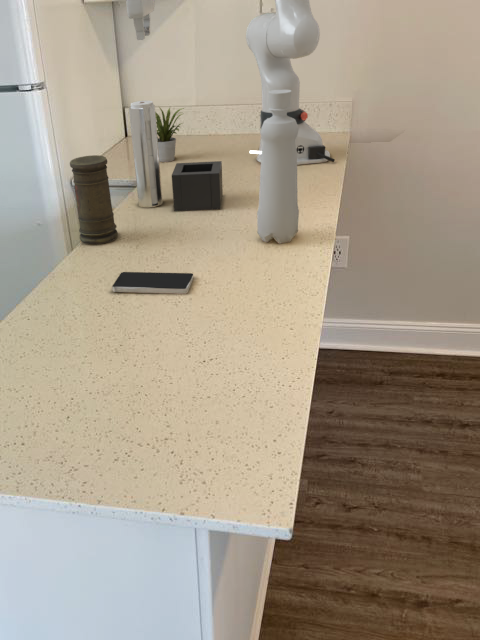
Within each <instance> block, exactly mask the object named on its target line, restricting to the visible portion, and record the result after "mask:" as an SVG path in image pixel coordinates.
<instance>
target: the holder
mask: <svg viewBox="0 0 480 640" xmlns="http://www.w3.org/2000/svg"><path fill="white" fill-rule="evenodd" d="M171 187H172V201H173V203H172V204H173V211H174V212H189V211H212V210H214V211H215V210H216V211H217V210H222V209H221V208H222V202H223V196H224V195H223V193H224V191H223V162H222V160H218V161H195V162H192V161H191V162H176V164H175V166H174V168H173V172H172V173H171Z"/></svg>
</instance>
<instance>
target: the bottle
mask: <svg viewBox="0 0 480 640" xmlns="http://www.w3.org/2000/svg"><path fill="white" fill-rule="evenodd" d="M291 92H292V91H291V90H273V91H269V103H270V108H269V110H271V112H272V114H273V116H272V117H270V118H268V119H266V120H265V121H264V123H263V125H262V127H261V129H259V133H260V139H261V138H262V140H263V142H264V143H263V148H262V153H261V162H260V170H259V171H260V172H259V192H258V193H259V194H258V197H259V198H258V207H257V208H258V209H257V211H256V219H257V220H256V221H257V223H256V225H257V226H256V227H257V228H256V229H257V231H256V232H257V233H256V234H257V235H258V236H259V238H260V239H261V241H262V242H264V243H269V242H272V240H273V239H274V240H275V241H276V242H277V243H278V244H286V243H290V242H291V241H292V239H294V238H295V236H296V234H297V233H298V231H299V215H300V209H299V204H298V201H299V200H298V165H297V150H296V144H295V139H296V137H297V135H298V131H299V127H298V125H297V122H296V120H295V119H294V118H291V117H289V116H287V112H288V110H289V109H291V107H290V100H291Z"/></svg>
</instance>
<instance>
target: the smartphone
mask: <svg viewBox="0 0 480 640" xmlns="http://www.w3.org/2000/svg"><path fill="white" fill-rule="evenodd" d="M193 281H194V273H191V272H151V271H150V272H149V271H148V272H146V271H145V272H144V271H122V272H120V274H119V275H118V277H117V278H116V279H115V282H114V283H113V284H112V286H111V287H112V291H113V292H114V293H142V294H143V293H144V294H145V293H147V294H180V295H181V294H183V295H185V294H188V292H189V290H190V287H191V285H192V284H193Z"/></svg>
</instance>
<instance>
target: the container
mask: <svg viewBox="0 0 480 640" xmlns="http://www.w3.org/2000/svg"><path fill="white" fill-rule="evenodd" d="M107 164H108V158H107V157H106V156H105V155H98V154H97V155H95V154H93V155H85V156H83V155H82V156H79V157H75V158H73V159H71V160H70V161H69V166H70V168H71V172H72V177H73V184H74V191H75V192H74V193H75V199H76V205H77V212H78V221H79V229H78V232H79V233H80V234H79V240H80V242H81V243H82V244H85V245H93V246H94V245H103V244H108V243H111V242H113V241H114V240H116V239H117V238H118V235H119V232H118V230H117V228H118V227H117V224H116V222H115V218H114V217H115V216H114V215H115V214H114V211H113V206H112V199H111V198H112V197H111V190H110V183H109V181H110V180H109V175H108V170H107V169H108V166H107Z"/></svg>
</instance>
